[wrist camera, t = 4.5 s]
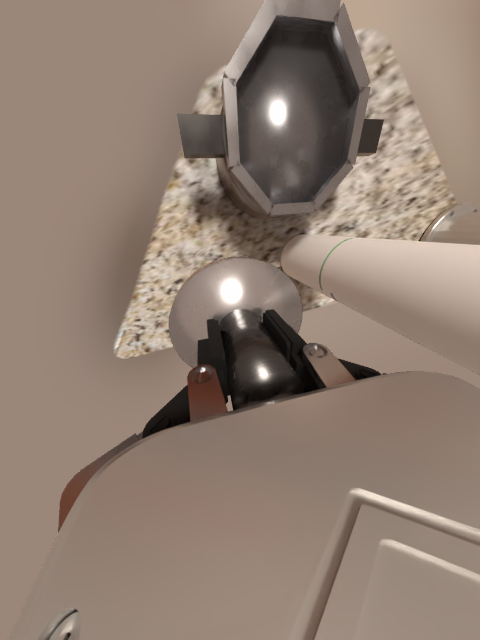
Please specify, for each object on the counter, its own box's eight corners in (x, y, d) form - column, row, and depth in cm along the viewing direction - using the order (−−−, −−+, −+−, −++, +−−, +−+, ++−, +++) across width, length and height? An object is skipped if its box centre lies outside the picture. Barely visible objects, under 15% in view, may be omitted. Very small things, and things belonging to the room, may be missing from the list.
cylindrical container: (296, 285, 32) (496, 400, 11) (272, 259, 29) (493, 353, 7) (325, 254, 30) (630, 317, 9) (303, 224, 27) (701, 209, 6)
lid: (302, 249, 12) (413, 272, 6) (290, 357, 16) (344, 433, 10) (151, 265, 10) (82, 320, 4) (187, 379, 15) (179, 481, 9)
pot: (350, 82, 21) (427, 10, 14) (329, 213, 27) (373, 209, 20) (169, 70, 17) (152, -34, 10) (195, 223, 24) (195, 221, 17)
